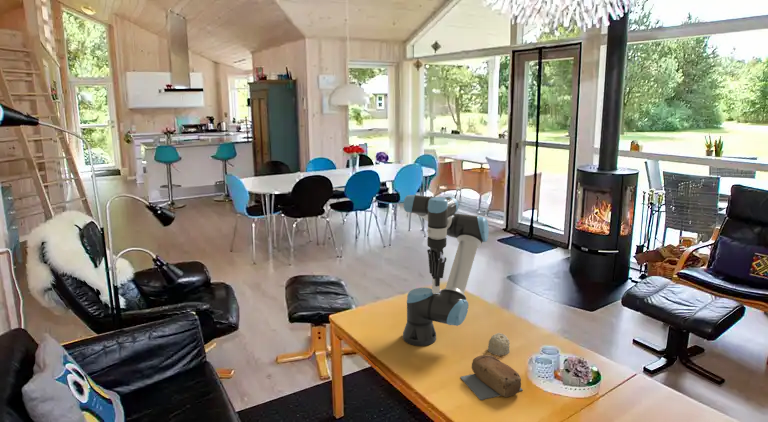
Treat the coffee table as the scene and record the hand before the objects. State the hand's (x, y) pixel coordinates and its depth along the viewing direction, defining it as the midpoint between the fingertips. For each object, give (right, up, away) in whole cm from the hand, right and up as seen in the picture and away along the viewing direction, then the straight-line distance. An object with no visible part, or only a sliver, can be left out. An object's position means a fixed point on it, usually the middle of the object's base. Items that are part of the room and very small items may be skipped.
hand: (435, 292), depth 215 cm
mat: (+20, -34, -11) cm, 41 cm away
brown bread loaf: (+18, -27, -3) cm, 33 cm away
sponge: (+29, -28, +15) cm, 43 cm away
